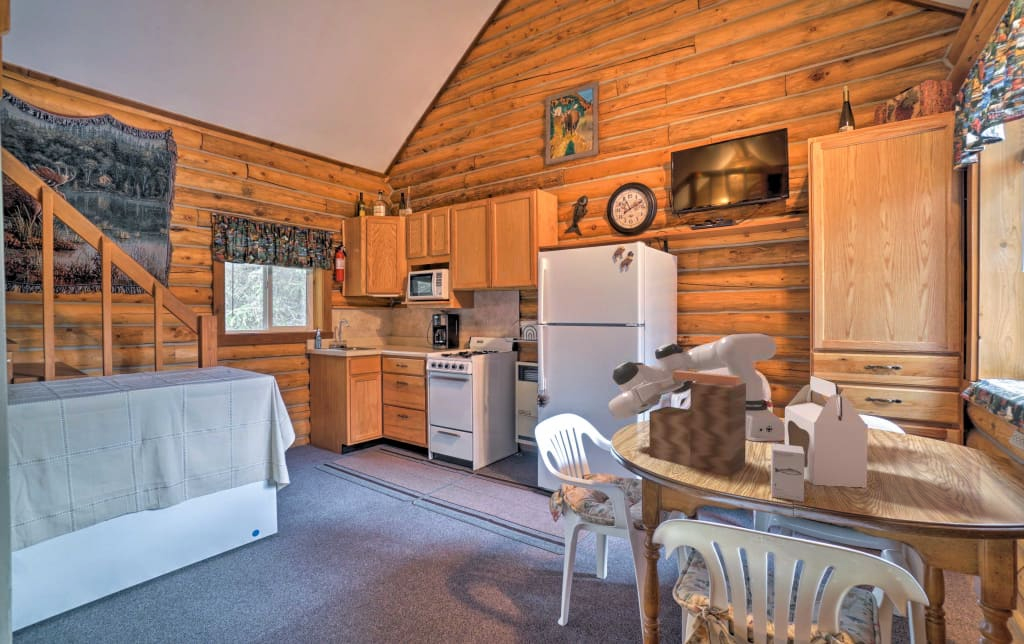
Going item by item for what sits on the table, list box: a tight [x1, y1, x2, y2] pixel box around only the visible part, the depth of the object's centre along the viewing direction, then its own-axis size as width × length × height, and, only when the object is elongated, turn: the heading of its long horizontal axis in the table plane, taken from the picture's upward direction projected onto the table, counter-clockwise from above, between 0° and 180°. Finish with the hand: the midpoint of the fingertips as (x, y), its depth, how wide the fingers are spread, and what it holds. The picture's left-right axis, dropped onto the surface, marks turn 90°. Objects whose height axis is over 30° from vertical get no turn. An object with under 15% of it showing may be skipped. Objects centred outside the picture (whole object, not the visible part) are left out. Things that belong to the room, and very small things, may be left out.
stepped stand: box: [648, 381, 747, 477], centre depth 152 cm, size 26×12×26 cm, turn 44°
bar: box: [673, 370, 741, 386], centre depth 149 cm, size 20×4×2 cm, turn 44°
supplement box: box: [770, 442, 805, 503], centre depth 124 cm, size 7×7×13 cm
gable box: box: [784, 375, 869, 489], centre depth 140 cm, size 22×13×28 cm, turn 169°
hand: (680, 378), depth 155 cm, fingers open, 8 cm apart
